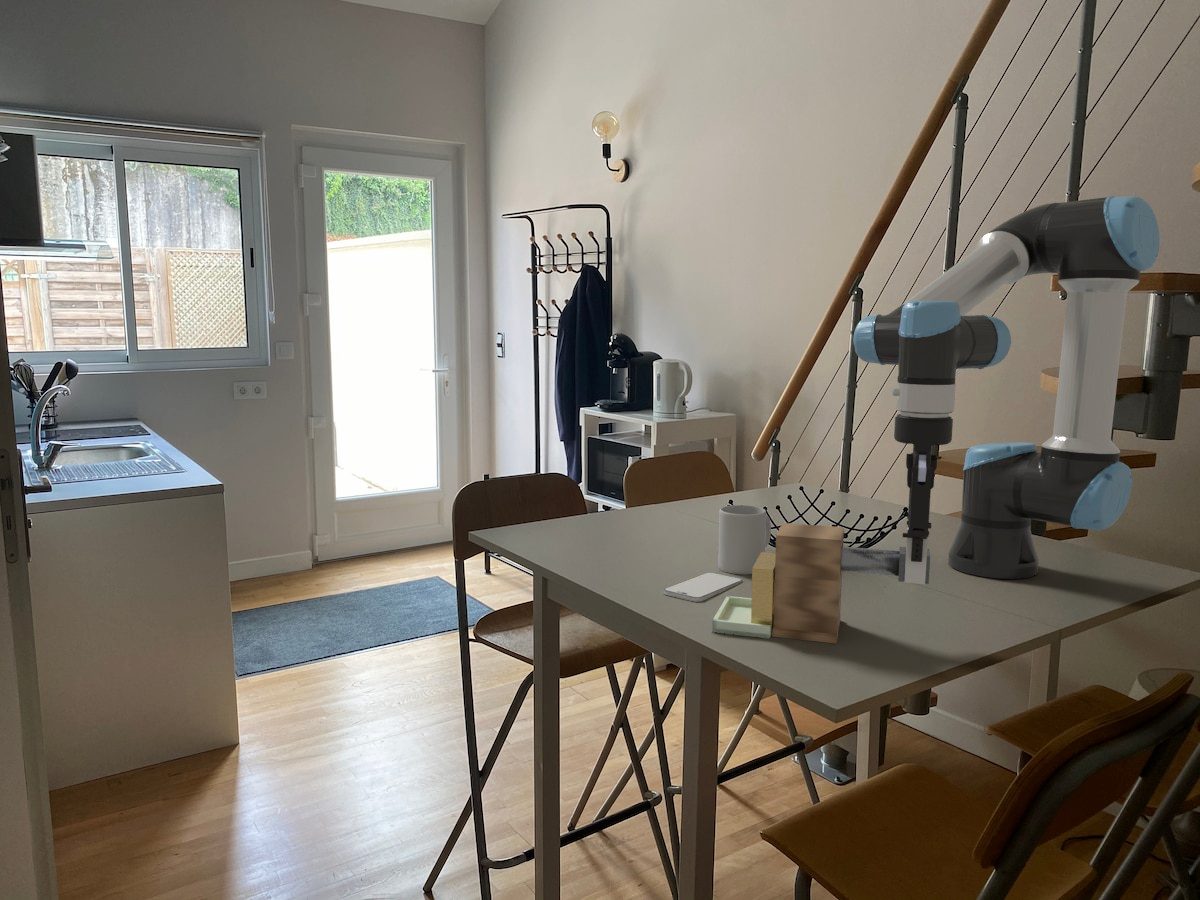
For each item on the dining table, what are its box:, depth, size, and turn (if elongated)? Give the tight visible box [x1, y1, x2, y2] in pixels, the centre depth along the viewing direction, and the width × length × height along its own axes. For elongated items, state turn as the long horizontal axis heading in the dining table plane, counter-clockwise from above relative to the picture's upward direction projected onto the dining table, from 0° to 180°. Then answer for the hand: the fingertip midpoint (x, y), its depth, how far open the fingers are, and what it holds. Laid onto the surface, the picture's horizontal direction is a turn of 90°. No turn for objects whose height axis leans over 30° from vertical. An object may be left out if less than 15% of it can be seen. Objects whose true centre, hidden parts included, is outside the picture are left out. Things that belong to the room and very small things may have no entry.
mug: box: [717, 504, 772, 576], centre depth 162 cm, size 12×8×11 cm
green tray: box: [711, 595, 773, 639], centre depth 134 cm, size 8×12×2 cm
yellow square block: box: [751, 551, 776, 631], centre depth 132 cm, size 3×9×9 cm, turn 162°
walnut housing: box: [771, 522, 845, 644], centre depth 130 cm, size 9×10×15 cm
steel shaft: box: [840, 546, 931, 585], centre depth 127 cm, size 20×4×4 cm, turn 72°
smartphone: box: [663, 572, 743, 603], centre depth 151 cm, size 7×1×15 cm
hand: (914, 577), depth 125 cm, fingers closed on steel shaft, 4 cm apart
